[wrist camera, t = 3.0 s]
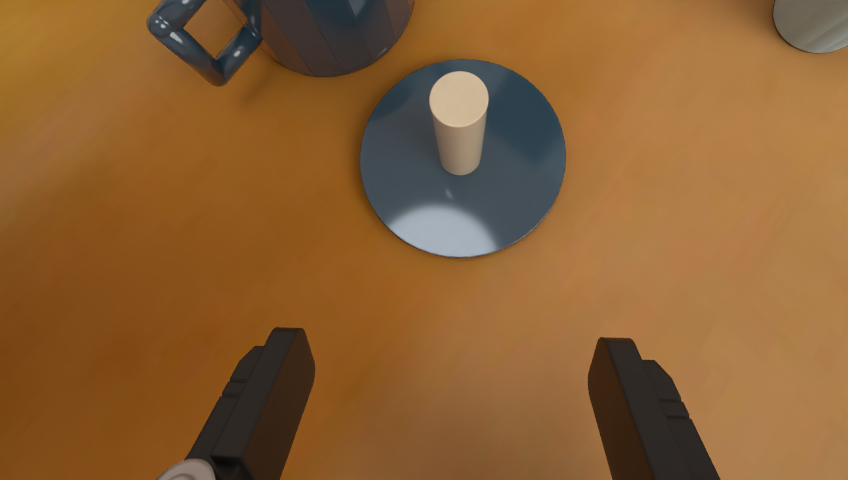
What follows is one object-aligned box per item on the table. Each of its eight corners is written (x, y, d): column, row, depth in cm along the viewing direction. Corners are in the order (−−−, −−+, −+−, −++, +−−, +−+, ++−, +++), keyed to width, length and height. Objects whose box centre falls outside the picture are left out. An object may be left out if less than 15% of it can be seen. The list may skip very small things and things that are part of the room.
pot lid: (477, 301, 27) (483, 304, 18) (324, 178, 29) (262, 126, 20) (603, 141, 28) (671, 68, 19) (445, 32, 30) (436, -82, 21)
